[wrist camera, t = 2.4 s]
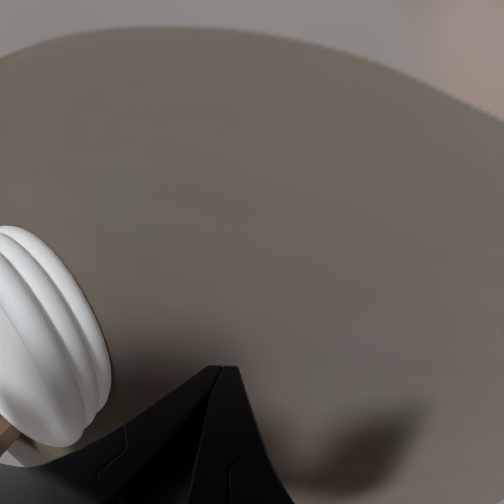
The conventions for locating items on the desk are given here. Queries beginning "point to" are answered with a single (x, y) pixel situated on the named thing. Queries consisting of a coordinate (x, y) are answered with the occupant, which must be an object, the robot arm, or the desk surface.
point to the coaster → (47, 344)
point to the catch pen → (7, 434)
